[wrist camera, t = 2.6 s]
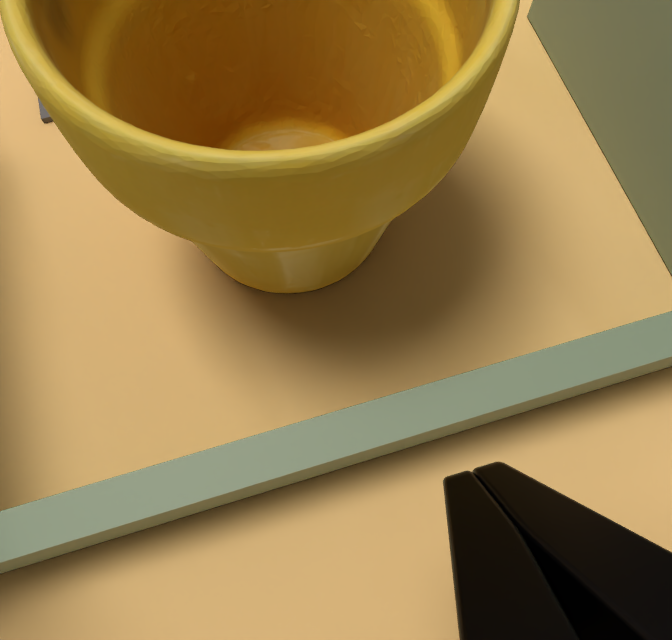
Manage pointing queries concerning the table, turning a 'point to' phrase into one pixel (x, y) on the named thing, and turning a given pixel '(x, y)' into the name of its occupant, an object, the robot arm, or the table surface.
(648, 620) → the robot arm
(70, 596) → the table surface
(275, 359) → the table surface
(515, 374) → the grey-green open frame
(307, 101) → the plant pot
